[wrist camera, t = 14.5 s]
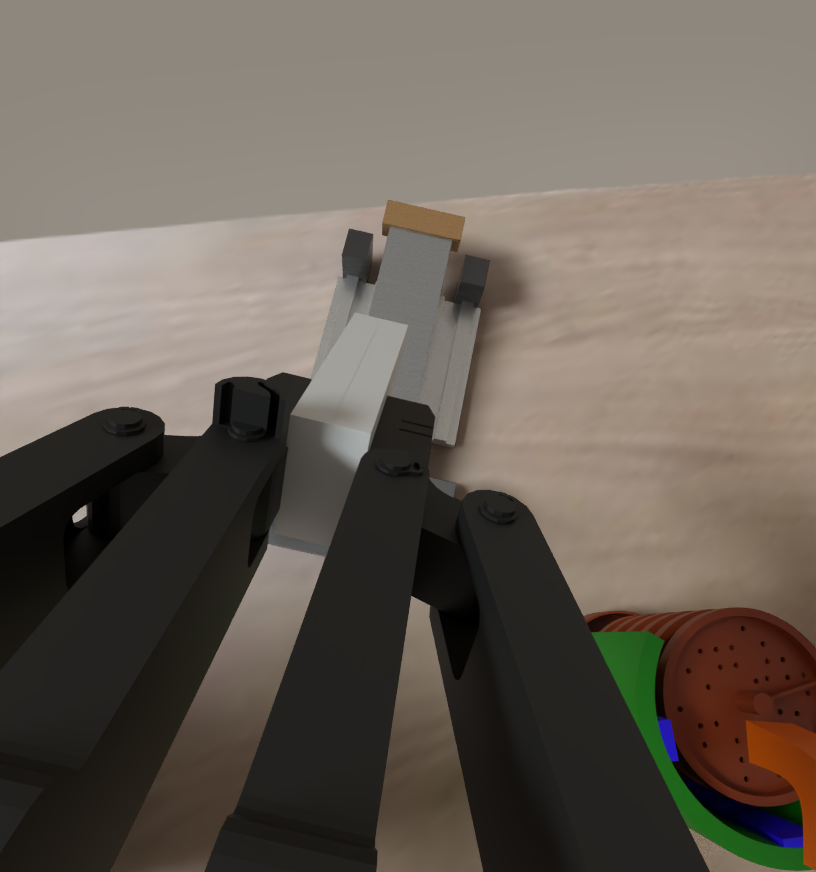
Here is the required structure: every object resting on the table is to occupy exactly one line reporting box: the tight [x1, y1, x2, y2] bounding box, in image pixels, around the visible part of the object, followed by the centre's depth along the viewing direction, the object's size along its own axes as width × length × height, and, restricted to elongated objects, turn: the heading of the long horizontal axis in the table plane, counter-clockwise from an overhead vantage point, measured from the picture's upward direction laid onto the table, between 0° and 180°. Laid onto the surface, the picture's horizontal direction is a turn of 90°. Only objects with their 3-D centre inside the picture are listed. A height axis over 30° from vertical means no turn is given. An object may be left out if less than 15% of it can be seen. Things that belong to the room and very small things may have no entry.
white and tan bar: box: [369, 200, 465, 402], centre depth 38 cm, size 5×2×20 cm
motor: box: [583, 608, 816, 871], centre depth 28 cm, size 10×9×20 cm
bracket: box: [268, 229, 490, 557], centre depth 39 cm, size 11×20×5 cm, turn 168°
